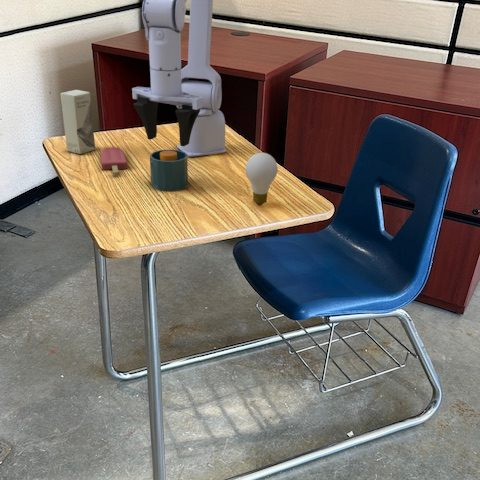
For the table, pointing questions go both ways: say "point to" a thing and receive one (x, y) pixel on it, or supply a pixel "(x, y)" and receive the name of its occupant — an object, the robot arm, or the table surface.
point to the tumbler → (169, 172)
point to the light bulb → (261, 175)
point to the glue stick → (168, 155)
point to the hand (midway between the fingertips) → (168, 141)
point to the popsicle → (113, 159)
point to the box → (78, 121)
